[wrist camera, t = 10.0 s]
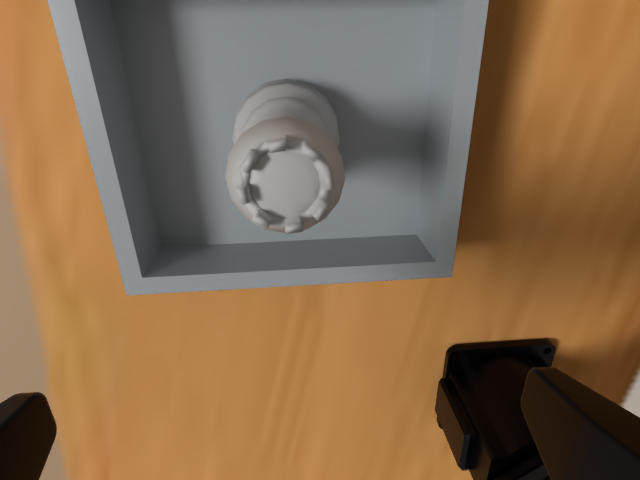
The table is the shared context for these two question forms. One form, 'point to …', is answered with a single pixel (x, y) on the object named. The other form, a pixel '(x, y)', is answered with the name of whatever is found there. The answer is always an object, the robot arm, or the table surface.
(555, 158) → the table surface
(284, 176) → the rook chess piece
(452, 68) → the tray
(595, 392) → the robot arm
